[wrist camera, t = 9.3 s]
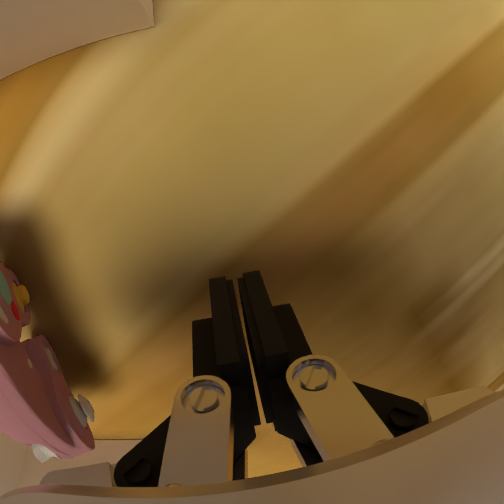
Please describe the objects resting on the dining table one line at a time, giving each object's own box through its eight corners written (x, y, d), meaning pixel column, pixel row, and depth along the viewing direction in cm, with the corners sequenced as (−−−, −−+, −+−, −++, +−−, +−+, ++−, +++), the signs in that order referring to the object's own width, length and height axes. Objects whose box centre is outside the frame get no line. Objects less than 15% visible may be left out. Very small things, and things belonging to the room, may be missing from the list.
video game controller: (87, 371, 15) (128, 472, 10) (22, 399, 13) (41, 505, 7) (11, 196, 10) (-19, 242, 5) (-69, 235, 8) (-132, 307, 3)
